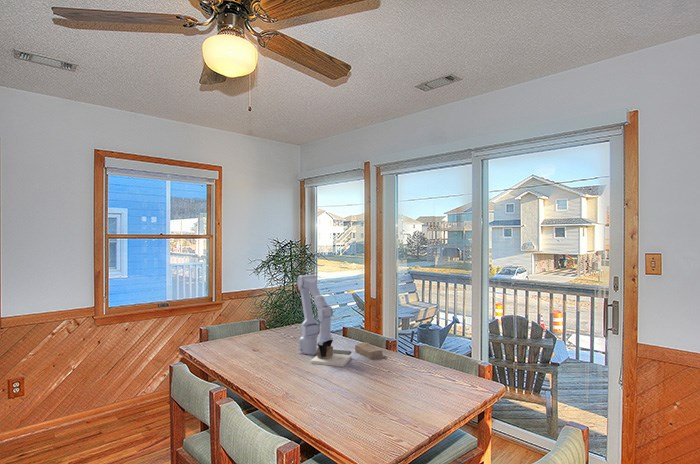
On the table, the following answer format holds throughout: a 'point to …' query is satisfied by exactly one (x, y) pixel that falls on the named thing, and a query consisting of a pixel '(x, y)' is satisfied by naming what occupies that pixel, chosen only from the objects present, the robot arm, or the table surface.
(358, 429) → the table surface
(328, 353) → the block
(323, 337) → the robot arm
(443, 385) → the table surface
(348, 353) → the mat
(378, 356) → the brick
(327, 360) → the board
